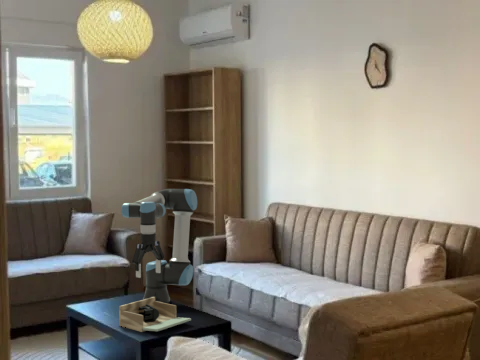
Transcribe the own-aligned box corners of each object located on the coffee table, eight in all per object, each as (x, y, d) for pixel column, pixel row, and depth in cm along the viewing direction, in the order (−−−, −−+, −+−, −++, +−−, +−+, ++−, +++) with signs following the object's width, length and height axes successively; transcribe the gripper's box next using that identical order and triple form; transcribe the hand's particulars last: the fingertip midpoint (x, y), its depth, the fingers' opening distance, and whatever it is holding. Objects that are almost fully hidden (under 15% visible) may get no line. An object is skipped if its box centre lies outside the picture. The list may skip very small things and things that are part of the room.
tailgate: (176, 317, 334) (191, 318, 327) (176, 319, 334) (191, 320, 327) (142, 328, 315) (157, 329, 309) (142, 330, 315) (157, 331, 309)
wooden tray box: (154, 315, 344) (153, 296, 343) (176, 320, 334) (176, 301, 333) (119, 325, 325) (119, 306, 324) (141, 332, 315) (141, 311, 314)
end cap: (159, 321, 327) (159, 307, 326) (146, 323, 323) (145, 309, 323) (151, 316, 335) (151, 303, 335) (138, 318, 332) (138, 305, 331)
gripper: (160, 229, 338) (160, 270, 340) (124, 235, 319) (124, 278, 320) (171, 230, 334) (171, 271, 335) (134, 236, 314) (135, 280, 316)
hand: (148, 275), depth 328 cm, fingers open, 13 cm apart
